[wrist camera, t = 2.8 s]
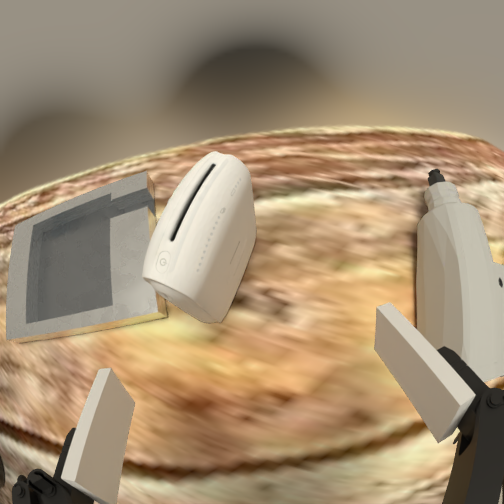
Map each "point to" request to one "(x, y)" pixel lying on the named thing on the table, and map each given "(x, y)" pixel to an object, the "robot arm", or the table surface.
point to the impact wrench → (459, 282)
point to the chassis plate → (84, 265)
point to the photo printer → (204, 238)
